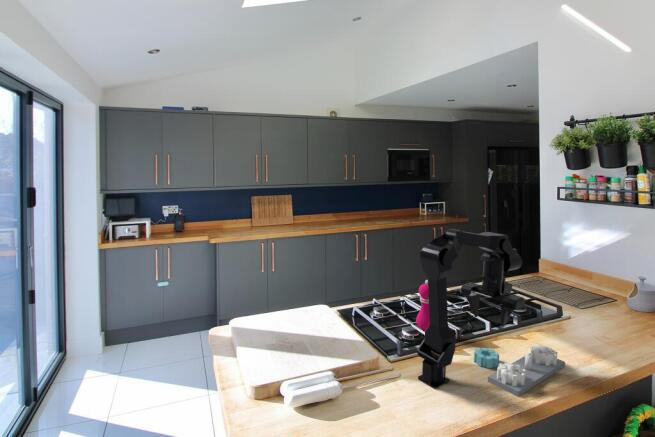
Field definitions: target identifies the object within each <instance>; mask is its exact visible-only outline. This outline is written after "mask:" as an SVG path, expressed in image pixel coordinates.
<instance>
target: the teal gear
mask: <svg viewBox="0 0 655 437" xmlns="http://www.w3.org/2000/svg"><path fill="white" fill-rule="evenodd" d="M473 362H474V363H476V364H477V366H479V367H482V368H483V367H484V368H486V369H491V368H495V369H497V367H498V366H499V364H500V354H499V353H498V352H496V351H495V350H494V349H492V348H491V349H490V348H486V347H482V348H481V347H480V348H475V351H473Z"/></svg>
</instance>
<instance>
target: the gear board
mask: <svg viewBox="0 0 655 437" xmlns="http://www.w3.org/2000/svg"><path fill="white" fill-rule="evenodd" d="M565 366H566V361H564V360H562V359H559V358H558V351H557V350H555V349H553V348H552V347H551V346H545V345H542V344H538V345H532V346H531V349H530V352H529V353H528V354H526V355H524V356H522V357H521V358H519V359H518V360H515V361H513V362H512V363H511V362H505V363H501V362H499V364H498V367H496V369H497V370H496V372H493V373H492V374H490V375H488V377H487V382H489V383H490V384H491V385H494V386H496V387H497V388H499V389H503V390H504V391H506V392H508V393H510V394H512V395H514V396H516V397H520V396H521V395H522V394H525V393H526V392H528V390H530V389H532V388H533V387H535V386H537V385H538V384H539V383H542V382H543V381H545V380H546V379H547V378H549V377H551V376H552V375H554V374H555V373H557V372H558V371H560V370H561V369H563V368H565Z"/></svg>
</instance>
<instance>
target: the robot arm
mask: <svg viewBox="0 0 655 437" xmlns="http://www.w3.org/2000/svg"><path fill="white" fill-rule="evenodd" d="M509 238H510V237H509V236H508V235H507V234H502V233H498V232H490V231H485V232H480V233H474V232H470V231H469V232H467V231H463V230H461V229H460V230H459V229H455V228H454V229H453V228H449V229H445V231H444V232H443V233H442V234H440V235H438V236H436V237H435V238H432V239H430V241H428V243H427V244H426V245H424V246H423V248H422V249H421V250H420V252H419V259H420V265H421V268H422V270H423V272H424V273H425V275H426V277H427V280H428V294H429V316H430V325H429V326H428V328H427V329H426V331H425V336H424V338H423V340H422V342H421V343H420V344H419V346H418V347H417V349H416V354H417V357H420V358H421V359H423V360H422V367H421V368H422V369H421V370H422V371H421V375H419V376H417V379H418V380H419V381H421V382H422V383H425V384H426V385H427V386H429V387H432V388H433V389H437V388H439V387H441V386H443V385H446V384H447V383H448V382H449V383H450V378H448V377H447V376H446V375H447V374H446V373H447V371H446V370H447V366H450V365H452V361H453V359H454V355H455V352H456V344H458V342H457V331H456V329H454V328H451V327H450V326H449V320H448V319H449V318H448V316H449V314H448V313H449V312H448V292H447V290H448V289H447V288H448V286H447V277H448V275H449V273H451V271H452V269H453V262H454V261H455V260H456V259H457V258H458V257H459V256H460V250H461V247H462V246H470V247H478V248H480V249H482V250H484V251H485V252H484V253H483V254H482V255H481V256H480V257H479V260H481V261H483V269H482V270H483V271H482V275H480V277H479V278H480V280H481V282H482V284H478V283H475V282H468V283H465V284H462V285H461V287H460V294H463V297H464V298H465V299H466V300H467V302H468V305H469V306H470V309H471V311H472V313H473V316H474V317H475V318H478V317H479V308H480V299H481V296H482V297H486V298H488V299H489V298H490V299H491V300H494V301H499V302H501V305H502V306H501V307H500V325H501V328H505V327H506V325H507V323H508V321H509V318H510V317H511V315H512V313H513V312H515V311H518V310H521V309H522V308H525V307H526V300H525V298H524V297H522V296H518V295H516V294H511V293H512V290H513V287H514V284H513V283H510V282H508V281H506V277H505V276H504V272H510V271H515V270H518V269H520V268H521V267H522V266H523V260H522V257H521V255H520V254H519V252H518V248H513V246H512V242H511V241H510V239H509ZM449 244H452V245H451V246H450V248H446V247H445V246H447V245H449ZM487 251H488V252H487ZM505 294H509V295H505Z"/></svg>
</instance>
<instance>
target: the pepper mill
mask: <svg viewBox="0 0 655 437" xmlns="http://www.w3.org/2000/svg"><path fill="white" fill-rule="evenodd" d="M418 294H419V301H420V309H419V312H418V313H417V316H416V320H415V322H416V325H417V327H419V328H421V329H422V330H424V331H426V329H427V328H428V326H429V325H430V316H429V294H428V279H426V280H425V281H424V283H422V284H421V285H420V286H419V288H418Z"/></svg>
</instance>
